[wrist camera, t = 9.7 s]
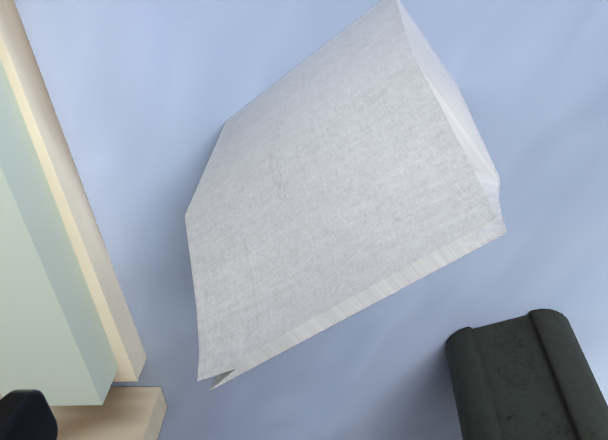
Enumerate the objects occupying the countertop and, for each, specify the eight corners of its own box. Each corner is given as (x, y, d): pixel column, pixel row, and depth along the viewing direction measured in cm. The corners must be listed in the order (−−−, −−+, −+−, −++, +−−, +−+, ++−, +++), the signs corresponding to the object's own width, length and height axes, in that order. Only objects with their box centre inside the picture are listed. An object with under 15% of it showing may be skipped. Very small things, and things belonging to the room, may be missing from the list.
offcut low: (21, -16, 18) (-13, -2, 16) (151, 347, 27) (137, 381, 25) (-122, 0, 19) (-169, 16, 17) (50, 350, 27) (30, 383, 26)
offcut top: (-8, 38, 17) (-46, 59, 15) (118, 366, 25) (102, 405, 23) (-131, 48, 17) (-182, 70, 16) (30, 368, 25) (8, 406, 23)
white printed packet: (226, 120, 19) (134, 331, 11) (393, -10, 17) (438, 139, 8) (294, 195, 21) (260, 431, 12) (458, 86, 18) (552, 294, 10)
